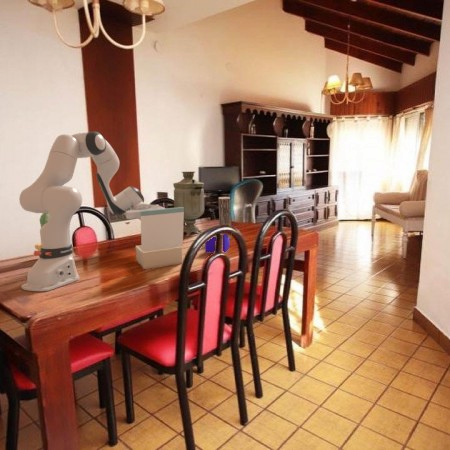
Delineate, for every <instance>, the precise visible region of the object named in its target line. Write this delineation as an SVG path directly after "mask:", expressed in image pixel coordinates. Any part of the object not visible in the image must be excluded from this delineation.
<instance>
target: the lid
mask: <svg viewBox="0 0 450 450" xmlns="http://www.w3.org/2000/svg"><path fill="white" fill-rule="evenodd" d="M184 224H185V220H184V207H177V208H174V207H171V208H170V207H169V208H165V209H155V210H144V211H141V220H140V239H141V241H140V242H141V243H140V245H141V251H142V252H145V251H152V250H159V249H166V248H173V247H183V245H184V232H183V228H184Z"/></svg>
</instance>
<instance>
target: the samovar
mask: <svg viewBox="0 0 450 450" xmlns="http://www.w3.org/2000/svg"><path fill="white" fill-rule="evenodd" d="M181 173H182V177H183V178H182V179H181V180H180V181H178V182H174V183H172V185H173V189H174V190H173V203H168V204H167V206H169V208H172V206H174V207H173V208H177V207H184V224H185V225H186V226H183V233H186V236H191V234H192V233H194V232H198V233H201V232H202V233H203V231H202V230H200V229H199V227H197V225H195V223H196V220H197V219H198V218H200V217H201V216H202V215H203V214H204V213H205V191H204V187H205V186H204V185H205V183H204V182H201V181H197V180H196V179H194V175H195V173H196V171H181Z"/></svg>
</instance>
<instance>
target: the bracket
mask: <svg viewBox="0 0 450 450" xmlns="http://www.w3.org/2000/svg"><path fill="white" fill-rule="evenodd" d="M215 241H216V237H213V238H212V239H210V240H209V241H207V242H206V243H205V242H204V245H205V248H204V249H205V251H204V252H205V253H207V252H211V253H210V254H213V253H212V252H214V251H215ZM230 243H231V242H230V239H229V238H228V235H227V234H224V235H223V251H224V252H226V251H227V250H228V249H229V250H230V246H229V245H230ZM229 250H228V251H229Z"/></svg>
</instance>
